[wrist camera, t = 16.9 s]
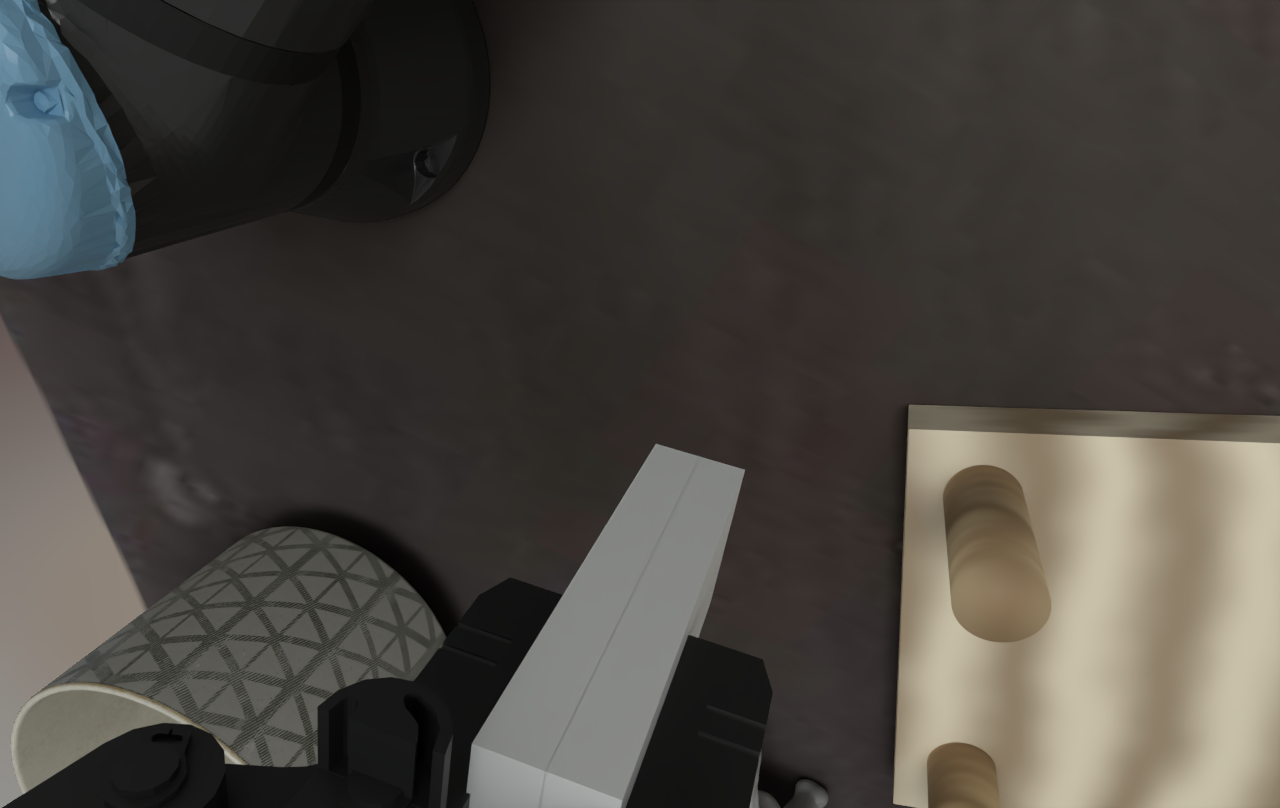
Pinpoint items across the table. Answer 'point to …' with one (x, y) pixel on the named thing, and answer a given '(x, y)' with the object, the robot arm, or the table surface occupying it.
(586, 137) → the table surface
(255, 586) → the planter
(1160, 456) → the stool
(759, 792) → the gray elephant figurine
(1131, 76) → the table surface
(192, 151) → the robot arm
